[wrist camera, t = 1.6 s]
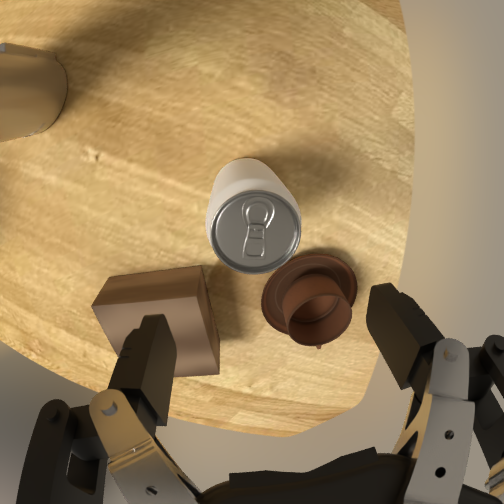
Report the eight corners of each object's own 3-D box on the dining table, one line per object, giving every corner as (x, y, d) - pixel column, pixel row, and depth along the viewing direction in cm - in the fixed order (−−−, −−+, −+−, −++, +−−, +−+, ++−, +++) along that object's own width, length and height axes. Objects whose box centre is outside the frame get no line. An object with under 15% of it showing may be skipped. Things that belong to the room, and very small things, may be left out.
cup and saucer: (362, 299, 36) (380, 328, 30) (285, 339, 38) (293, 372, 32) (332, 229, 31) (353, 253, 25) (241, 279, 33) (243, 312, 27)
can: (280, 159, 27) (315, 187, 16) (273, 220, 29) (299, 281, 19) (215, 155, 26) (204, 179, 15) (212, 217, 29) (202, 278, 18)
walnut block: (109, 277, 31) (91, 306, 26) (201, 265, 31) (196, 296, 26) (139, 346, 36) (130, 377, 31) (219, 340, 37) (219, 374, 31)
